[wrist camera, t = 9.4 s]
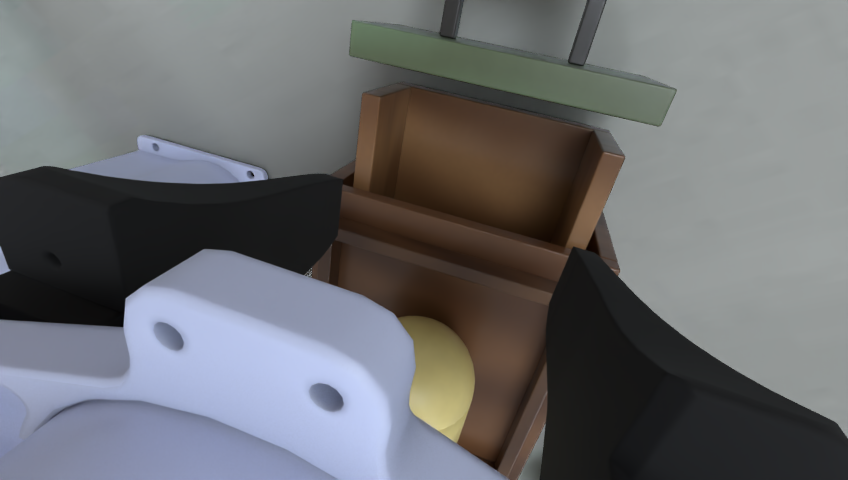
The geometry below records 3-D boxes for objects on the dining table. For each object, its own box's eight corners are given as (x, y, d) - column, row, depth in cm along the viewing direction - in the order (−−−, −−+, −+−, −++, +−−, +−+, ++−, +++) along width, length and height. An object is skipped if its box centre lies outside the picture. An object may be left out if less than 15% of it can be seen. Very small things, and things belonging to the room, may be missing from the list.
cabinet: (377, 145, 23) (315, 183, 17) (601, 204, 21) (621, 270, 15) (353, 337, 30) (304, 411, 24) (520, 394, 28) (512, 491, 22)
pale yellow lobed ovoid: (369, 389, 22) (321, 476, 17) (387, 278, 18) (333, 352, 14) (459, 424, 21) (433, 525, 16) (496, 314, 17) (476, 405, 13)
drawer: (413, -88, 17) (363, -133, 13) (694, -42, 15) (753, -75, 11) (367, 262, 26) (327, 310, 21) (545, 318, 24) (543, 383, 19)
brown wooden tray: (317, 402, 23) (308, 416, 22) (331, 213, 17) (319, 223, 17) (503, 473, 21) (501, 491, 21) (587, 290, 16) (589, 304, 15)
